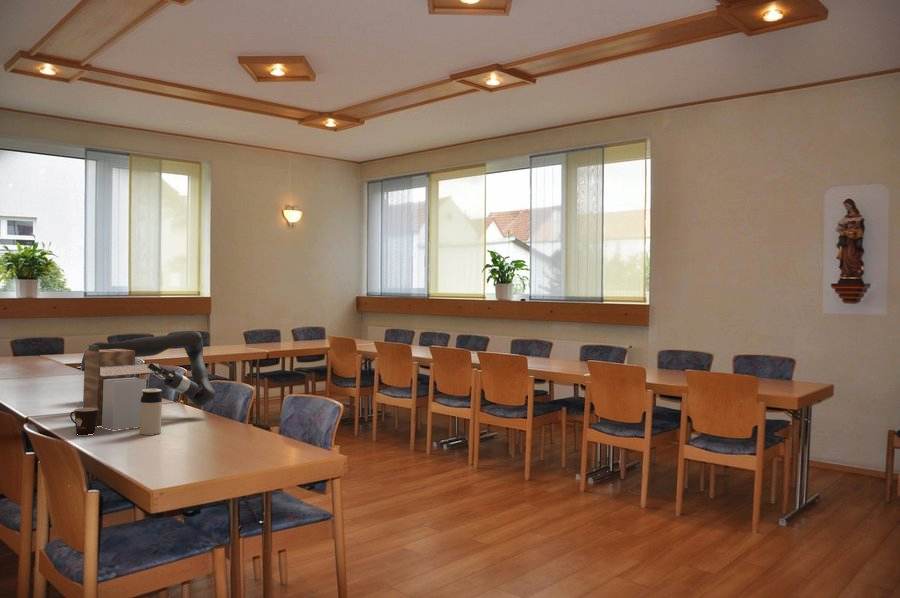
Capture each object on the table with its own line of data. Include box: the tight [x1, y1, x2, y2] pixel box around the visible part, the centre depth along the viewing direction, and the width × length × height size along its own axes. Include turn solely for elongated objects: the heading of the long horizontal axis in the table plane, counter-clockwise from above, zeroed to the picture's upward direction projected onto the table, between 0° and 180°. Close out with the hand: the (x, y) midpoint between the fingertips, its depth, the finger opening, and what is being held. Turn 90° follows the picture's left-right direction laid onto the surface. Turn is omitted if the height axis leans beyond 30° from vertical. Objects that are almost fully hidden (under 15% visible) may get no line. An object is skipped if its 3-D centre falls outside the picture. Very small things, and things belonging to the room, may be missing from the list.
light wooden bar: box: [100, 362, 160, 376], centre depth 294 cm, size 24×4×4 cm, turn 144°
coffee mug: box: [69, 407, 98, 436], centre depth 278 cm, size 12×9×10 cm
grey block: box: [101, 376, 148, 430], centre depth 293 cm, size 14×9×20 cm, turn 144°
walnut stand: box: [82, 344, 136, 427], centre depth 300 cm, size 16×12×34 cm
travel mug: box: [139, 388, 163, 436], centre depth 283 cm, size 8×8×18 cm
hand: (146, 365), depth 300 cm, fingers closed on light wooden bar, 3 cm apart
